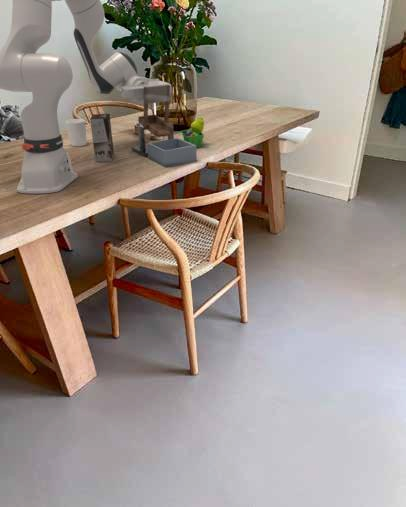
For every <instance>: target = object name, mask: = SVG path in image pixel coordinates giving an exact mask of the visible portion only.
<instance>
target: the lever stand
mask: <svg viewBox="0 0 406 507" xmlns="http://www.w3.org/2000/svg"><path fill="white" fill-rule="evenodd" d="M168 124H169V125H170V126H172V127H173V128H174V123H172V122H168ZM137 132H138V142H139V143H138V145H136V146H132V147H131V151H132V152H133V153H135V154H136V155H139V156H141V157H143V158H148V146H147V144H146V139H145V137H146V135H145V130H144V128H143V126H140V127H137ZM174 132H175V130H173V134H171V135H169V136H167V140H168V139H174V138H175V136H174V135H175V134H174Z"/></svg>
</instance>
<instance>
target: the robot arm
mask: <svg viewBox="0 0 406 507" xmlns="http://www.w3.org/2000/svg"><path fill="white" fill-rule="evenodd" d="M56 1H57V2H60V1H62V0H12V13H11V14H12V15H11V23H10V24H11V25H10V30H9V34H8V37H7V38H6V41H5V42H4V44H3V46H2V47H1V49H0V90H4V91H9V92H15V93H16V92H17V93H19V92H20V93H22V92H23V93H32V100H31V103H29V104H28V105H26V106H25V107H23V109H22V110H21V112H20V122H21V125H22V131H23V136H24V137H23V143H21V148H22V149H21V150H23V151H25V152H24V155H23V159H22V160H23V161H22V165H21V169H20V171H21V174H20V175H21V177H20V180H19V183H18V184H17V187H16V192H17V193H19V194H20V193H22V194H30V195H31V194H49V193H57V192H61V191H62V190H63V189H65V188H66V187H67V186H68V185H70V184H71V183H72V182H73V181H75V180H76V179H77V178H78V177H79V175H78V172H74V170H73V166H72V160H71V157H70V153H69V152H68V151H67V150H66V149H65V148H64V141H63V140H64V139H63V136H62V134H61V133H60V127H59V117H58V107H59V106H58V105H59V102H60V99H61V97H62V96H63V94H64V93H65V92H66V91H67V90H68V89H69V88H70V86H71V85H72V83H73V82H72V81H73V79H74V78H73V70H72V67H71V64H70V63H69V61H68V60H67V58H65V57H64V56H61V55H58V54H52V53H46V52H45V53H37V51H38V50H39V49H40V48H41V47H42V46H44V45H45V44H47V43H48V42H49V40H50V39H51V36H52V18H53V17H52V14H53V11H52V10H53V7H52V6H53V2H56ZM64 2H65V4H66V5H67V7H68V9H69V12H71V15H72V17H73V21H74V30H73V37H74V41H75V43H76V45H77V48H78V51H79V53H80V56H81V59H82V61H83V63H84V66H85V67H86V68H85V69H86V72H87V74H88V77H89V81H90V83H91V85H92V87H93V89H94V90H95V91H96V92H97V93H99V94H101V95H110V94H111V93H112V92H113V91H114V90H115V88H116V89H117V92H116V93H118V94H121V95H120V96H121V97H122V98H123V99H129V100H130V99H133V100H136V101H139V102H141V101H142V102H144V87H146V86H156V85H166V84H169V85H170V95H171V94H172V89H173V88H172V84H171V83H169V82H167V81H162V80H160V79H159V78H154V77H153V78H152V77H151V78H147V77H145V76H139V75H138V68H137V66H136V63H135V61H134V60H133V58H131V57H130V55H128V54H126V53H125V52H122V51H116V52H114V53H113V54H112V55H111V56H110V57H108V58H107V59H106V60H105V61H104V62H103V63H101V64H100V65H99V64H98V60H97V58H96V56H95V53H94V49H93V47H94V42H95V40H96V37H97V35H98V33H99V32H100V30H101V28H102V27H103V24H104V20H105V8H104V6H103V4H102V1H101V0H64Z"/></svg>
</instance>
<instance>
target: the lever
mask: <svg viewBox="0 0 406 507" xmlns="http://www.w3.org/2000/svg"><path fill="white" fill-rule="evenodd" d="M169 84H170V83H169ZM169 84H166V85H156V86H146V87H144V100H143V115H141V116H138V118H137V119H138V120H137V121H138V124H139V125H141V127H143V128H144V131H148V132H149V133H151V134H152V135H153V136H155V137H156V138H162V137H168V136H169V135H171V134H173V131H174V126H173V127H172V126H170V125H169V124H168V123H169V120H170V119H169V117H170V114H169V113H170V95H171V94H170V85H169ZM157 103H158V104H159V103H164V115H163V116H164V117H163V118H164V119H162V118H161V117H160V116H158V115H157V114H150V115H149V108H148V107H149V105H150V104H157Z"/></svg>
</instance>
